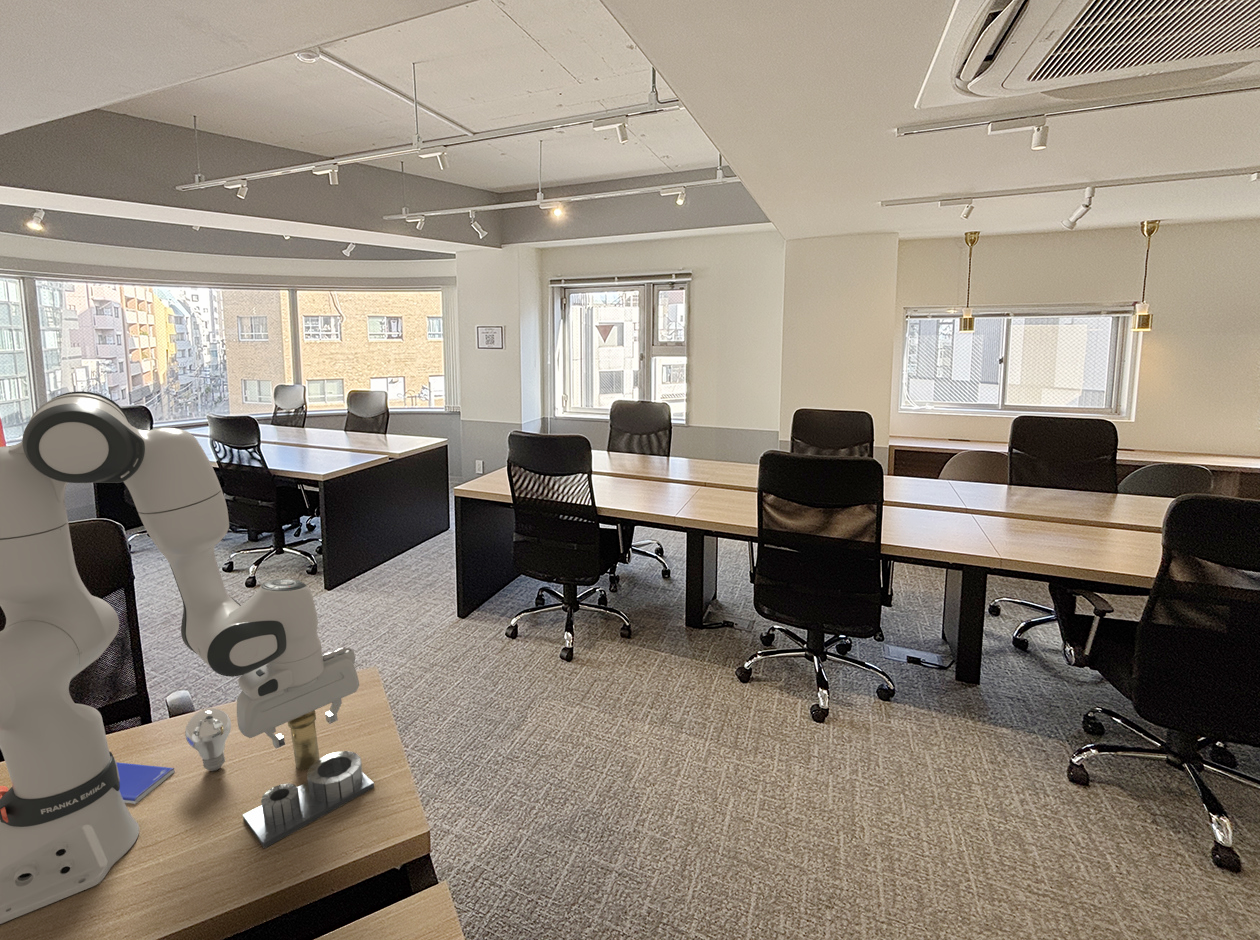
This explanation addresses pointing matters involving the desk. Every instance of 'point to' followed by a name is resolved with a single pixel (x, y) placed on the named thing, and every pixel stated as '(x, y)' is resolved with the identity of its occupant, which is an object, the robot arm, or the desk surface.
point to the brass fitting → (304, 740)
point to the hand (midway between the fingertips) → (306, 733)
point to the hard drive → (140, 780)
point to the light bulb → (209, 736)
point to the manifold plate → (308, 797)
